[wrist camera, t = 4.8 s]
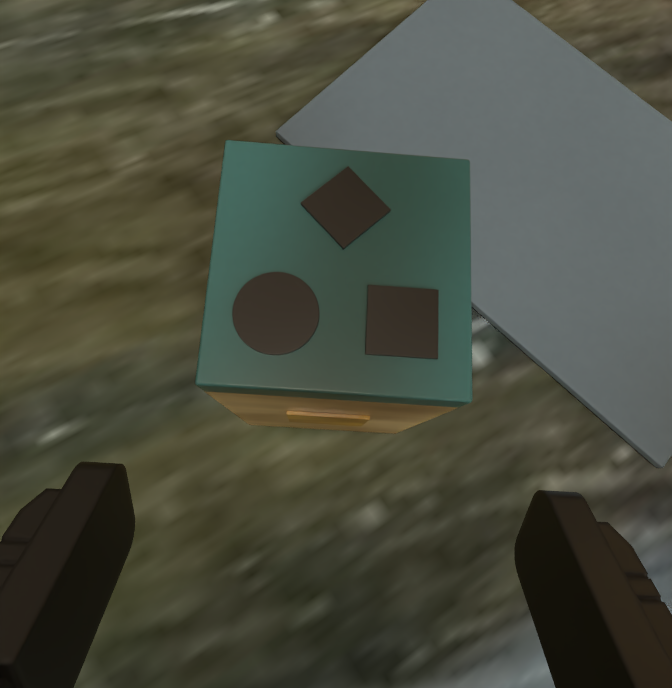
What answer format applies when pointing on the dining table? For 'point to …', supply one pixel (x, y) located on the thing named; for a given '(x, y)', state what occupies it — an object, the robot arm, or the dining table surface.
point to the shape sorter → (338, 288)
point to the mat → (534, 193)
